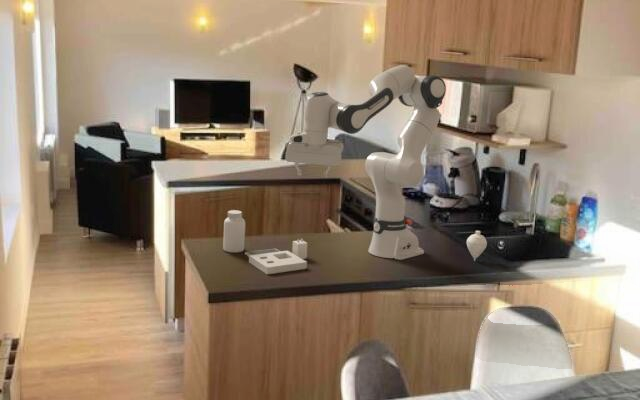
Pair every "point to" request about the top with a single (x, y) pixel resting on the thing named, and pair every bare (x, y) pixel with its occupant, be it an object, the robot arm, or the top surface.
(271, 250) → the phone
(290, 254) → the outlet plate
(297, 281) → the top surface
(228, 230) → the pill bottle
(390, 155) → the robot arm
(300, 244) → the charger
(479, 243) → the spinning top
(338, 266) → the top surface
